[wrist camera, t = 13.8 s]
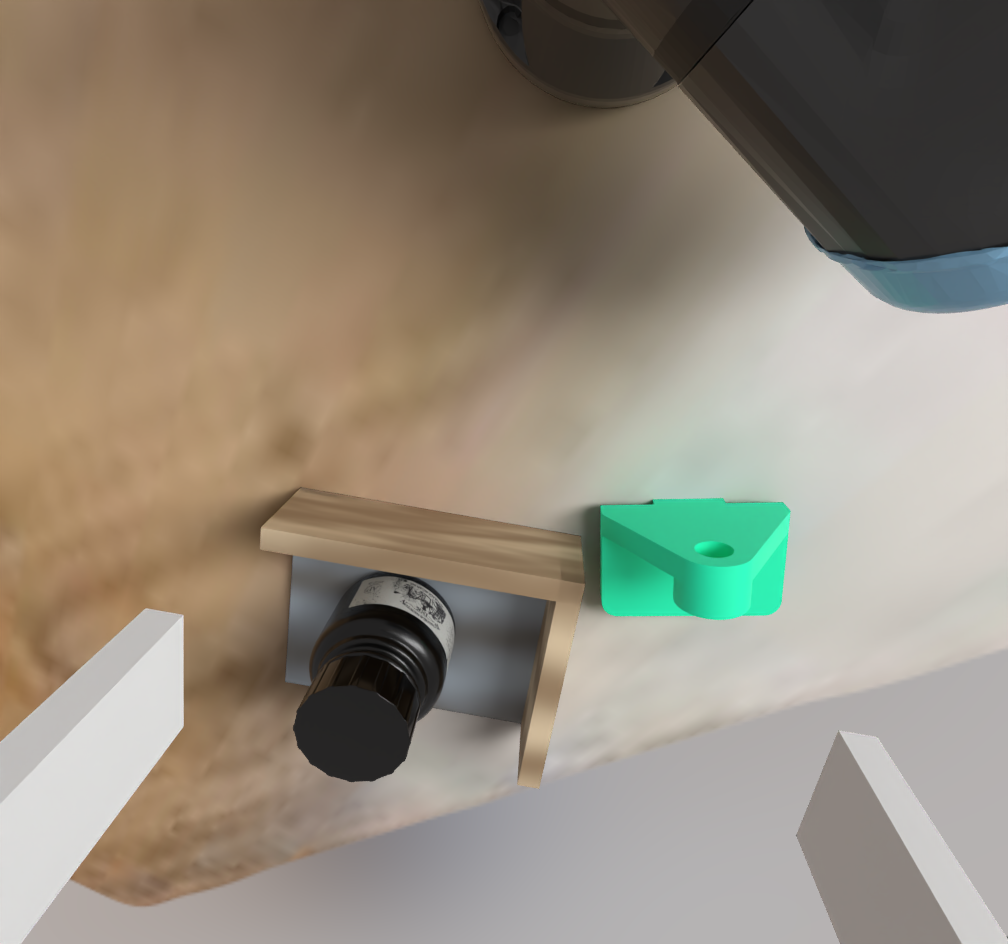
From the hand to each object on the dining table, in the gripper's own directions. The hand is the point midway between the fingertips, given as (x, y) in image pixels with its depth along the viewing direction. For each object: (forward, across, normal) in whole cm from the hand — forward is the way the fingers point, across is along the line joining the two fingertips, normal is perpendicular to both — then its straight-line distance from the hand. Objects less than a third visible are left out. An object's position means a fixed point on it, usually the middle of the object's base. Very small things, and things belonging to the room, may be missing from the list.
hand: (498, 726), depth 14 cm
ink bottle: (+32, -7, -19) cm, 38 cm away
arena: (+33, -5, -18) cm, 38 cm away
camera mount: (+33, +12, -10) cm, 37 cm away
